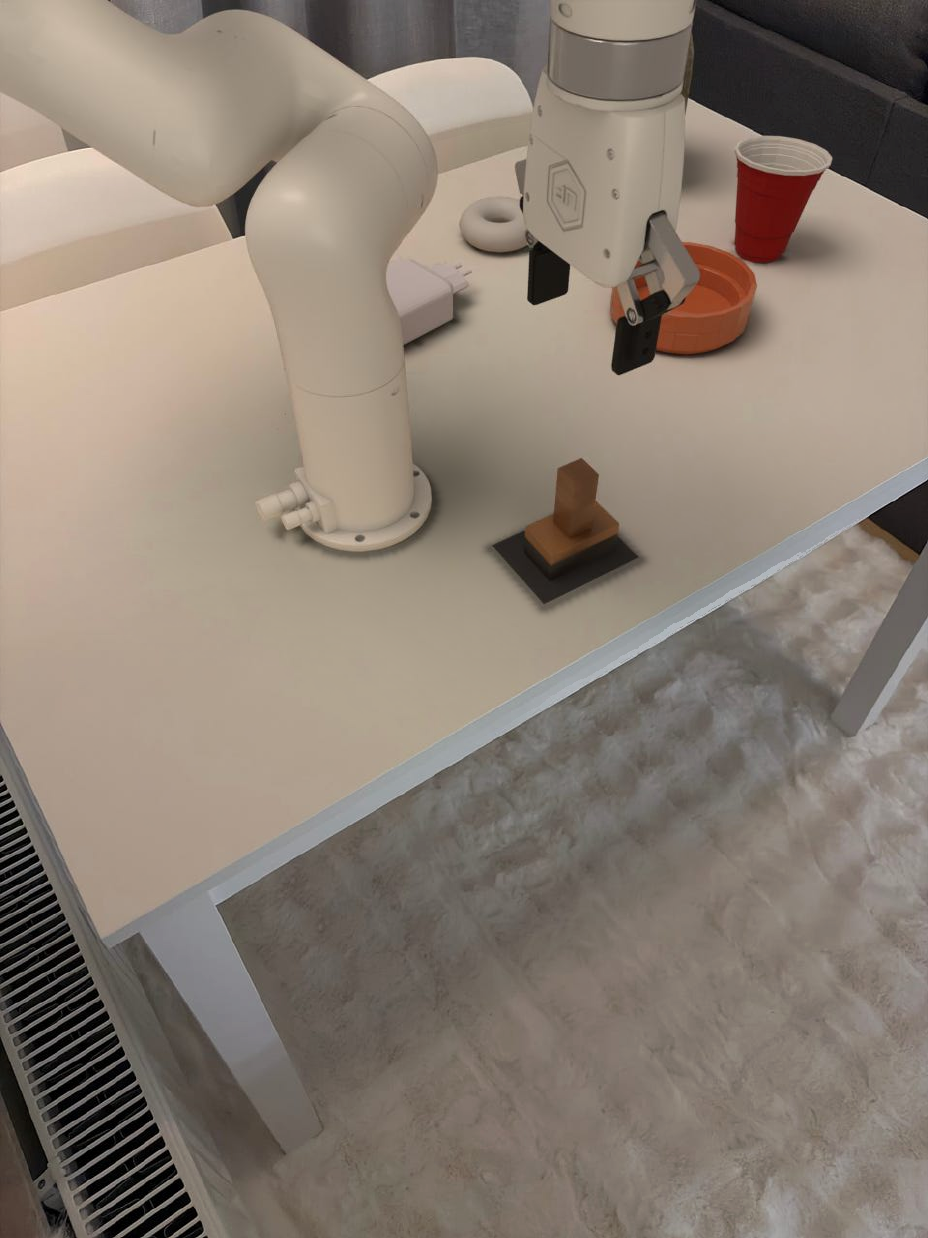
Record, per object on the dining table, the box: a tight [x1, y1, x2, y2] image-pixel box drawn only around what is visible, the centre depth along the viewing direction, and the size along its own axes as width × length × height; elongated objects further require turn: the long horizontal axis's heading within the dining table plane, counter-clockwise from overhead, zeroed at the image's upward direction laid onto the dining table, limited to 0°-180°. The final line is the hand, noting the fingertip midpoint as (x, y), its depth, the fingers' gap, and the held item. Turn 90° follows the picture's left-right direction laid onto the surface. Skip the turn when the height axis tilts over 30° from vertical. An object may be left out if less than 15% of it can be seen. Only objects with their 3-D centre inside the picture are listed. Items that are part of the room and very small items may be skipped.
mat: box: [491, 530, 639, 605], centre depth 80 cm, size 10×8×1 cm
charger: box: [386, 256, 473, 346], centre depth 103 cm, size 5×9×15 cm
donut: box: [459, 196, 528, 253], centre depth 114 cm, size 10×4×10 cm
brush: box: [524, 457, 620, 581], centre depth 76 cm, size 7×4×9 cm, turn 122°
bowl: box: [609, 241, 758, 355], centre depth 101 cm, size 15×15×5 cm
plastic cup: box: [733, 135, 833, 264], centre depth 108 cm, size 11×11×12 cm
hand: (588, 331), depth 63 cm, fingers open, 9 cm apart
